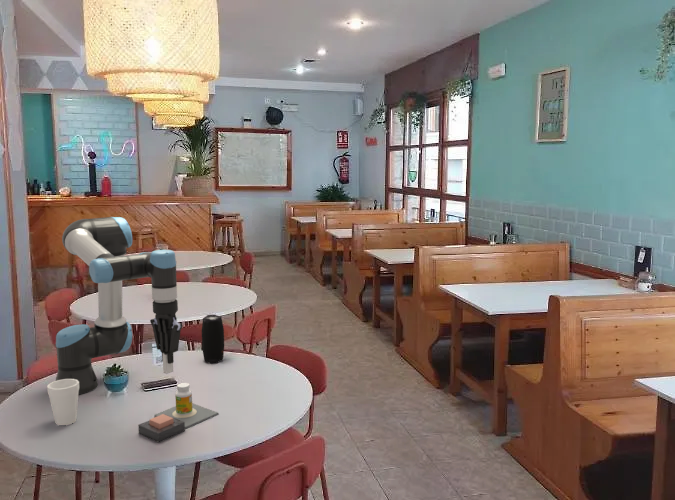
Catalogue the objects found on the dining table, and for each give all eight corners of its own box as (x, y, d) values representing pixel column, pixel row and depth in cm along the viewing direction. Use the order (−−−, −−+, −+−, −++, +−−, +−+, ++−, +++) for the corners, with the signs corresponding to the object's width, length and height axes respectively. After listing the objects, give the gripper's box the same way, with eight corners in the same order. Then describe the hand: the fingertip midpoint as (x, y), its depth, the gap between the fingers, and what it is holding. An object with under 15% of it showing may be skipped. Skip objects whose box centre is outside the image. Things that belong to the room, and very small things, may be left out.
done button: (149, 425, 190) (149, 419, 190) (163, 419, 194) (163, 414, 194) (159, 430, 187) (159, 423, 187) (173, 424, 191) (173, 418, 191)
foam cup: (69, 429, 194) (66, 390, 192) (43, 426, 196) (40, 388, 194) (87, 416, 203) (84, 379, 201) (62, 414, 205) (60, 377, 203)
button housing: (138, 433, 190) (138, 424, 190) (165, 422, 198) (164, 414, 198) (158, 442, 184) (158, 433, 184) (184, 430, 192) (184, 422, 192)
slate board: (154, 416, 203) (154, 414, 203) (187, 403, 214) (187, 401, 214) (185, 429, 194) (185, 426, 193) (218, 414, 205) (218, 412, 205)
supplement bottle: (173, 415, 202) (172, 387, 201) (179, 408, 208) (178, 381, 206) (189, 416, 202) (187, 388, 200) (194, 409, 207) (193, 382, 205)
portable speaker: (228, 360, 259) (227, 316, 256) (210, 366, 252) (209, 320, 249) (216, 356, 265) (215, 312, 262) (198, 361, 258) (196, 317, 255)
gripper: (188, 300, 188) (191, 373, 191) (161, 295, 195) (164, 365, 199) (168, 305, 182) (172, 380, 185) (141, 299, 189) (145, 371, 193)
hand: (168, 372), depth 192 cm, fingers closed
